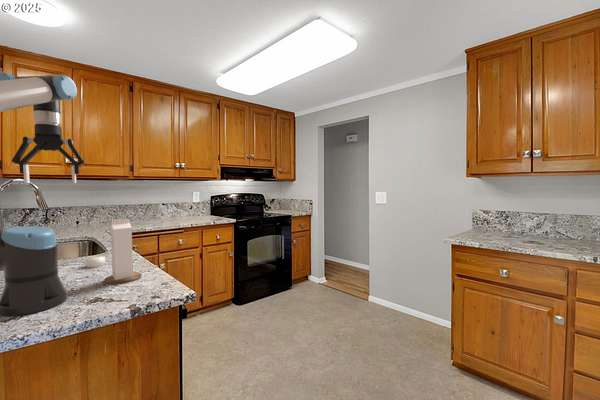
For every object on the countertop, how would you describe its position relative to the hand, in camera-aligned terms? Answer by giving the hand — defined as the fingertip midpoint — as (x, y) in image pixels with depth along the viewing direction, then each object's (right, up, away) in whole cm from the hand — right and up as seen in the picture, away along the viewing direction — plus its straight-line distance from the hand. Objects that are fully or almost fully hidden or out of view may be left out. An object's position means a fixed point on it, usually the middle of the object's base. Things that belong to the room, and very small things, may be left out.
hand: (51, 183), depth 107 cm
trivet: (+24, -36, +4) cm, 44 cm away
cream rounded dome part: (+1, -36, +22) cm, 42 cm away
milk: (+24, -36, +4) cm, 43 cm away
